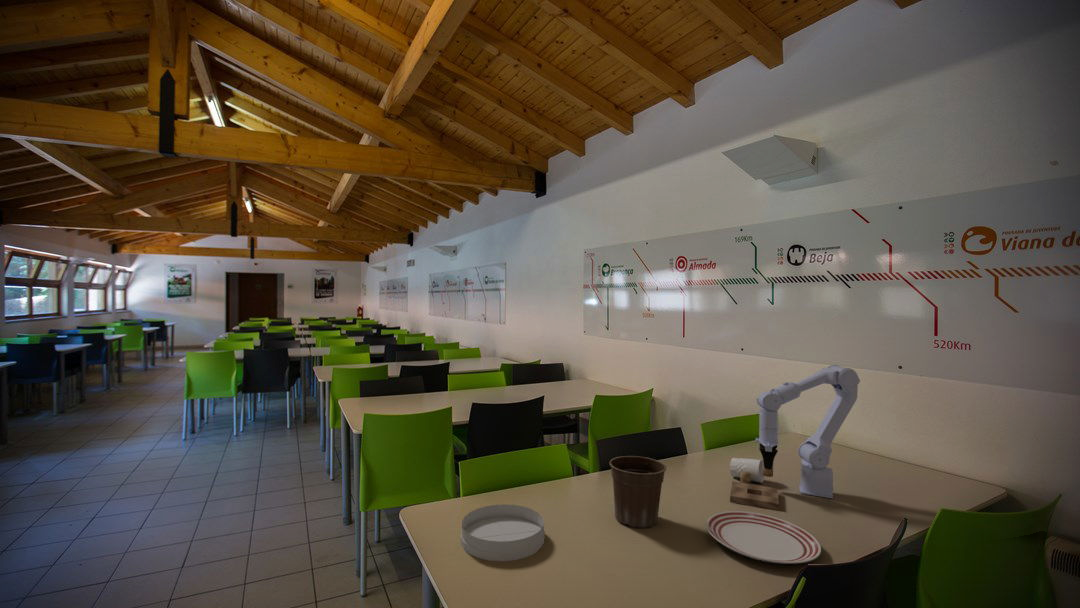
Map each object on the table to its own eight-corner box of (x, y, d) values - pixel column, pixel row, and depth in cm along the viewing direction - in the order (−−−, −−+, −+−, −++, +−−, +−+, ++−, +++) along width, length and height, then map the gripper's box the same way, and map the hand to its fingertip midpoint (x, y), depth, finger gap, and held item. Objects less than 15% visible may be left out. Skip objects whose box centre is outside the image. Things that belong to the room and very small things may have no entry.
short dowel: (750, 483, 172) (750, 472, 172) (750, 486, 169) (750, 475, 169) (740, 482, 173) (740, 471, 173) (740, 485, 170) (740, 473, 170)
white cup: (731, 483, 177) (761, 487, 171) (727, 465, 175) (757, 469, 169) (737, 468, 183) (765, 473, 177) (733, 451, 181) (762, 455, 174)
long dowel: (773, 474, 167) (773, 454, 167) (773, 477, 164) (773, 456, 164) (762, 473, 168) (762, 452, 168) (762, 475, 165) (762, 455, 165)
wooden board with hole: (777, 494, 162) (777, 488, 162) (778, 510, 149) (778, 503, 149) (732, 487, 168) (732, 481, 168) (730, 501, 155) (730, 495, 155)
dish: (466, 568, 114) (466, 546, 114) (455, 526, 136) (456, 508, 136) (555, 555, 121) (556, 535, 121) (532, 517, 142) (532, 500, 142)
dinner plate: (821, 537, 133) (821, 525, 133) (820, 587, 109) (820, 572, 109) (716, 514, 147) (716, 502, 147) (695, 553, 123) (695, 540, 123)
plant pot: (644, 504, 152) (645, 453, 152) (677, 527, 137) (678, 469, 137) (598, 511, 146) (599, 458, 146) (627, 536, 131) (628, 476, 131)
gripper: (755, 421, 174) (755, 459, 174) (755, 431, 161) (755, 471, 161) (777, 423, 171) (777, 462, 171) (779, 433, 158) (778, 475, 158)
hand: (768, 467), depth 166 cm, fingers closed on long dowel, 3 cm apart
